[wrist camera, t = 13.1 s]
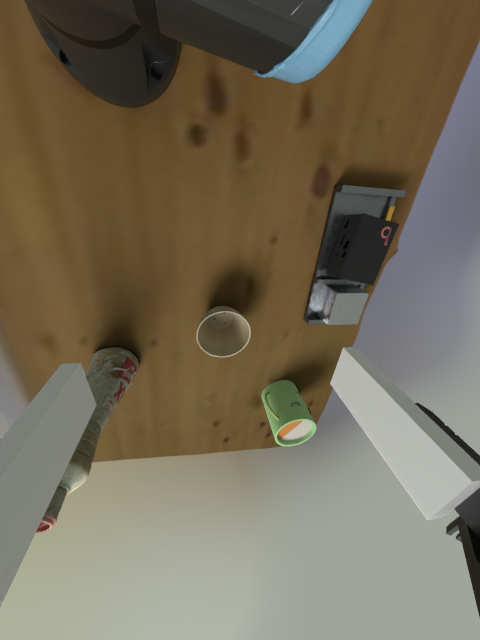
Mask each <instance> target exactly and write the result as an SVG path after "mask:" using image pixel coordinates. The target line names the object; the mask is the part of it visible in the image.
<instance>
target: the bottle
mask: <svg viewBox="0 0 480 640" xmlns="http://www.w3.org/2000/svg"><path fill="white" fill-rule="evenodd" d="M138 368H139V363H138V360H137V358H136V357H135V356H134V355H133V354H132V353H131V352H130V351H129V350H126V349H125V348H121V347H112V348H106V349H102V350H99V351H97V352H96V353H95V354H94V355H93V357H92V359H91V363H90V365H89V368H88V371H87V374H86V378H87V381H88V383H89V386H90V389H91V391H92V394H93V397H94V399H95V402H96V404H97V405H96V407H95V409H94V411H93V413H92V416H91V418H90V420H89V422H88V424H87V426H86V428H85V430H84V432H83V434H82V437H81V439H80V441H79V443H78V445H77V447H76V449H75V451H74V453H73V455H72V457H71V460H70V462H69V464H68V466H67V468H66V470H65V472H64V474H63V476H62V478H61V481H60V483H59V485H58V487H57V489H56V491H55V493H54V495H53V497H52V499H51V501H50V504H49V506H48V508H47V510H46V512H45V514H44V516H43V518H42V520H41V522H40V525H39V527H38V529H37V531H36V533H37V532H44V531H47V530H49V529H51V527H52V526H53V525H54V524H55V523H56V521H57V517H58V514H59V512H60V509H61V507H62V504H63V501H64V499H65V496H67V495H68V494H69V493H70V492H72V491H73V490H75V489H77V488H78V487H79V486H81V485H82V484H83V483H84V482H85V481H86V480H87V478H88V476H89V472H90V469H91V464H92V462H93V458H94V454H95V451H96V447H97V444H98V440H99V436H100V433H101V430H102V429H103V427H104V426H105V424H106V422H107V421H108V419H109V418H110V416H111V414H112V413H113V411H114V410H115V408H116V406H117V405H118V403H119V401H120V400H121V398H122V396H123V395H124V394H125V392H126V391H127V388H128V387H129V385H130V384H132V381H133V379H134V377H135V375H136V374H137V372H138Z"/></svg>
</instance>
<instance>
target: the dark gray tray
mask: <svg viewBox="0 0 480 640" xmlns="http://www.w3.org/2000/svg"><path fill="white" fill-rule="evenodd" d="M405 192H406V191H404V190H393V189H382V188H371V187H360V186H349V185H336V186H334V190H333V194H332V199H331V203H330V207H329V211H328V216H327V220H326V224H325V229H324V233H323V237H322V241H321V246H320V250H319V254H318V259H317V263H316V267H315V271H314V276H313V280H312V284H311V288H310V293H309V297H308V301H307V306H306V310H305V314H304V318H303V319H304V320H305V321H306V322H307V323H308V324H327V325H340V324H358V321H359V319H360V316H361V313H362V311H363V308H364V305H365V303H366V300H367V297H368V295H369V293H368V292H366V291H365V290H364V287H365V284H364V283H359V282H354V281H349V280H345V279H340V278H337V277H334V276H331V275H328V274H326V272H327V269H328V266H329V263H330V260H331V257H332V254H333V251H334V248H335V245H336V243H337V240H338V237H339V234H340V231H341V228H342V225H343V222H344V219H345V217H346V215H353V214H362V213H365V214H368V215H371V216H374V217H378V218H381V219H384V220H387V221H390V220H391V217H392V214H393V211H394V209H395V207H394V204H395V201H396V198H397V197H404V195H405Z"/></svg>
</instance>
